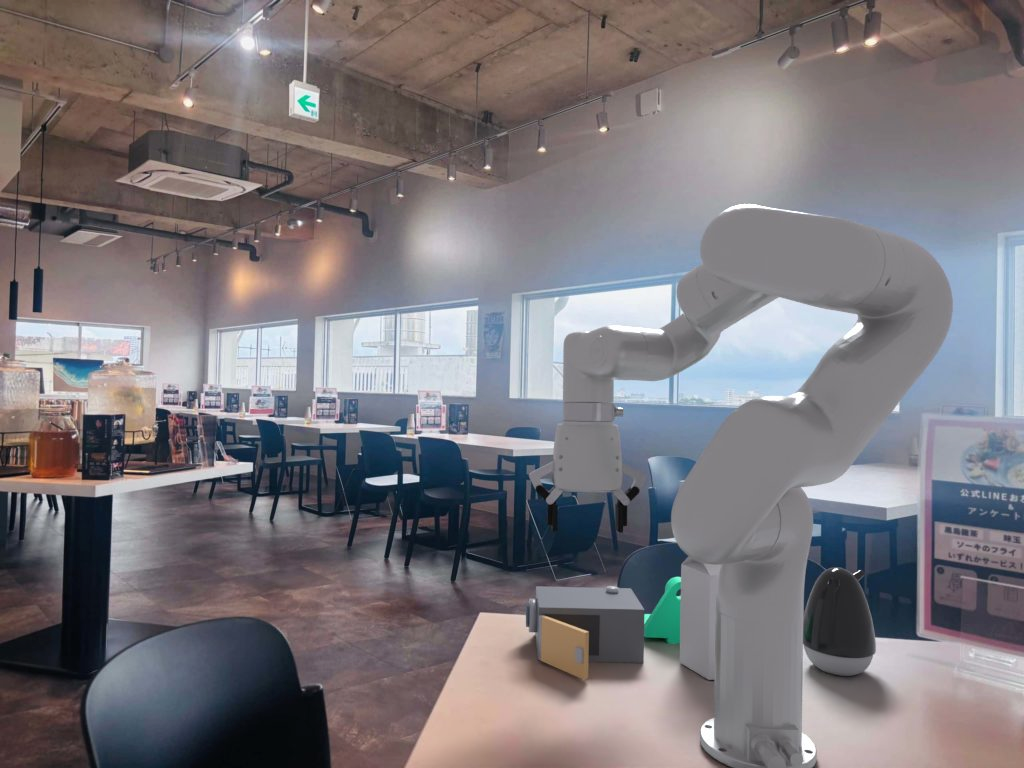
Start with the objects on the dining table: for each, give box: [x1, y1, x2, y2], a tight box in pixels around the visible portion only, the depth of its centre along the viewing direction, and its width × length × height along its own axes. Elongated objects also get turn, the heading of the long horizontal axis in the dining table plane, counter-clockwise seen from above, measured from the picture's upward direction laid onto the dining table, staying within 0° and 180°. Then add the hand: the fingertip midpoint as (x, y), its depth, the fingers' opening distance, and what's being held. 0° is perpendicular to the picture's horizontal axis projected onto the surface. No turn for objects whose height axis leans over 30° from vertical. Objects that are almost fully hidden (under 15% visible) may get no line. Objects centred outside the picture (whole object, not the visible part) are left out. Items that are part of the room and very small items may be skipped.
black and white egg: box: [803, 566, 877, 677], centre depth 106 cm, size 10×10×15 cm
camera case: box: [525, 585, 645, 664], centre depth 112 cm, size 12×18×9 cm
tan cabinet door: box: [537, 615, 589, 680], centre depth 102 cm, size 1×10×6 cm, turn 40°
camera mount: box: [644, 576, 681, 645], centre depth 119 cm, size 12×8×10 cm, turn 90°
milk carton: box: [679, 555, 722, 681], centre depth 105 cm, size 7×7×19 cm
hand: (586, 530), depth 104 cm, fingers open, 9 cm apart
